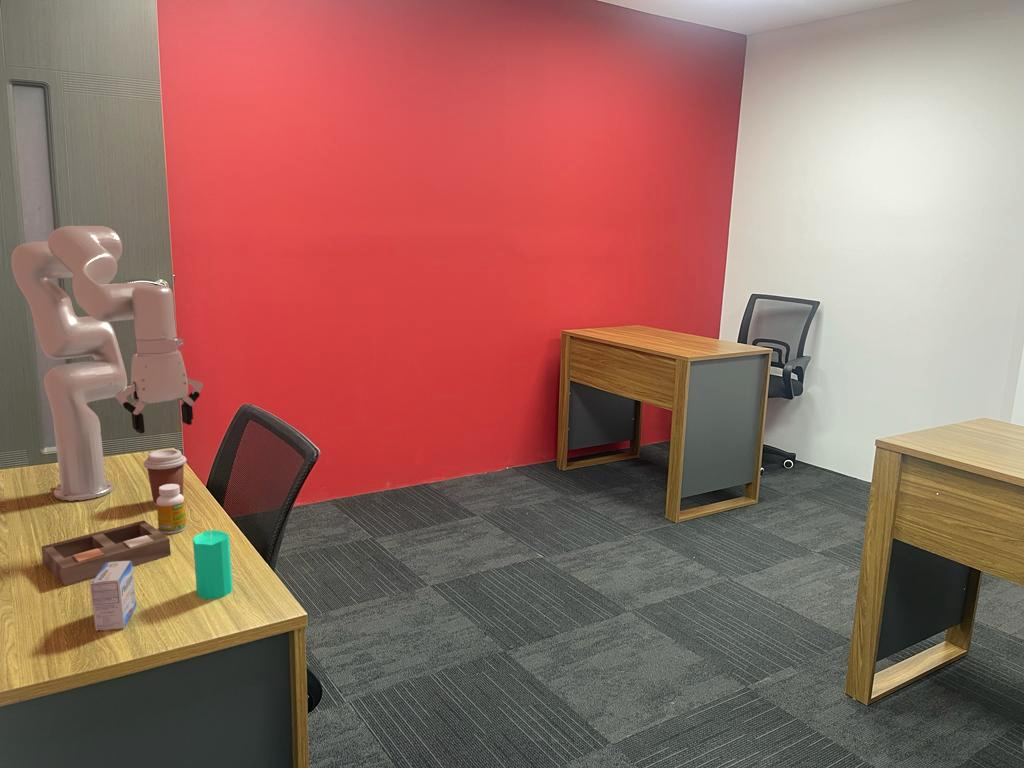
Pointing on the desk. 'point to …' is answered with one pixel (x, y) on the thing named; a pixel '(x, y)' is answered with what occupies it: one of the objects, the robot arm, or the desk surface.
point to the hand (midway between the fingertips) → (164, 427)
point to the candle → (212, 564)
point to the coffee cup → (165, 470)
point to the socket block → (104, 551)
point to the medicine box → (113, 595)
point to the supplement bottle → (171, 509)
